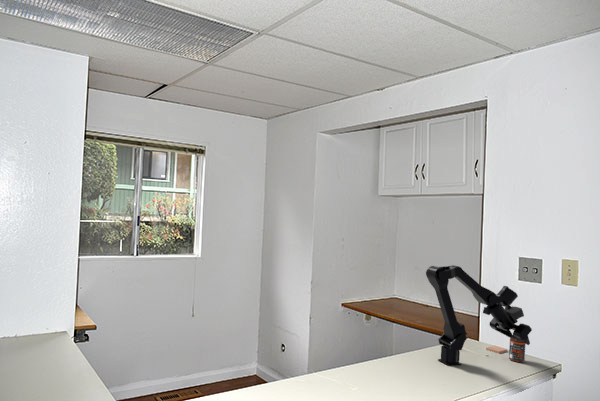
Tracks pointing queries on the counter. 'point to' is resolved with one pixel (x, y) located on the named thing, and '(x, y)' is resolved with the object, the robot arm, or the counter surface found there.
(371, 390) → the counter surface
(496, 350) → the tile
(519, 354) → the supplement bottle
